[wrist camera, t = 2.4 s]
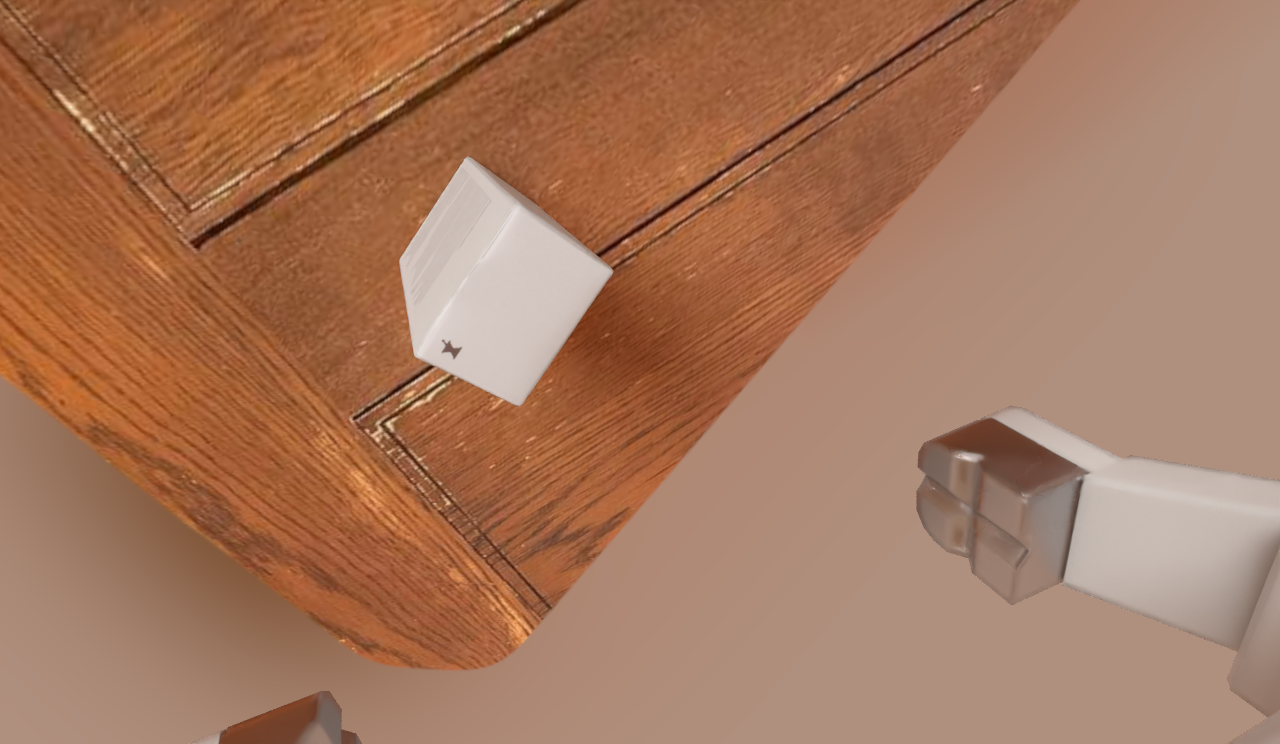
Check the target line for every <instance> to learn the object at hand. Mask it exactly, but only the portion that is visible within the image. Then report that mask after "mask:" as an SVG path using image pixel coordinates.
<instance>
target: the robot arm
mask: <svg viewBox="0 0 1280 744" xmlns="http://www.w3.org/2000/svg"><path fill="white" fill-rule="evenodd" d="M918 468H919V469H920V470H921V471H922V472H923V473H924V474H925V475H926V476H925V478H924V479H923V481H922V483H921V485H920V487H919V488H918V490H917V512H918V514H919V517H920V519H921V521H922V524H923V526H924V528H925V529H926V531H927V532H928V533H929V535H930V536H931V537H932V538H933V540H934V541H935V542H936V543H937V544H939V545H940V546H941V547H942V548H943V549H944V550H946V551H947V552H949V553H953V554H956V555H960V556H963V557H966V558H969V562H970V566H971V570H972V573H973V574H974V575H975V576H977V577H978V578H979V579H980V580H982V581H983V582H984V583H985V584H987V585H988V586H989V587H990V588H991V589H992V590H994V591H995V592H996V593H997V594H999V595H1000V596H1001V597H1002V598H1003V599H1005V600H1006V601H1007V602H1008V603H1009V604H1011V605H1014V604H1016V603H1018V602H1020V601H1022V600H1024V599H1027V598H1029V597H1031V596H1033V595H1035V594H1037V593H1039V592H1042V591H1044V590H1046V589H1048V588H1050V587H1052V586H1054V585H1057V584H1059V583H1061V582H1063V586H1066V587H1068V588H1071V589H1074V590H1076V591H1079V592H1082V593H1084V594H1087V595H1090V596H1092V597H1095V598H1098V599H1100V600H1103V601H1106V602H1108V603H1111V604H1113V605H1116V606H1119V607H1121V608H1124V609H1127V610H1129V611H1132V612H1134V613H1137V614H1140V615H1142V616H1145V617H1148V618H1150V619H1153V620H1156V621H1158V622H1161V623H1163V624H1166V625H1169V626H1171V627H1174V628H1177V629H1179V630H1182V631H1185V632H1188V633H1190V634H1193V635H1195V636H1198V637H1201V638H1203V639H1206V640H1208V641H1211V642H1214V643H1216V644H1219V645H1222V646H1224V647H1227V648H1229V649H1232V650H1235V651H1237V655H1236V657H1235V660H1234V663H1233V665H1232V668H1231V670H1230V673H1229V675H1228V682H1229V686H1230V690H1231V691H1232V692H1234V693H1235V694H1237V695H1238V696H1239V697H1241V698H1242V699H1243V700H1245V701H1246V702H1247V703H1249V704H1250V705H1252V706H1253V707H1254V708H1256V709H1257V710H1258V711H1260V712H1261V713H1262V714H1264V715H1265V716H1267V717H1268V718H1266V719H1265V720H1263V721H1262V722H1260V723H1259V724H1257V725H1255V726H1254V727H1252V728H1251V729H1249V730H1248V731H1246V732H1244V733H1243V734H1241V735H1240V736H1238V737H1237V738H1235V739H1234V740H1232V741H1230V742H1229V743H1227V744H1280V480H1275V479H1269V478H1263V477H1257V476H1251V475H1245V474H1239V473H1233V472H1227V471H1221V470H1215V469H1210V468H1203V467H1198V466H1191V465H1186V464H1179V463H1174V462H1167V461H1161V460H1156V459H1150V458H1143V457H1138V456H1132V455H1130V456H1128V457H1125V458H1123V459H1121V458H1119V457H1117V456H1115V455H1113V454H1111V453H1109V452H1108V451H1106V450H1103V449H1102V448H1100V447H1098V446H1096V445H1094V444H1092V443H1090V442H1088V441H1086V440H1084V439H1082V438H1081V437H1079V436H1077V435H1075V434H1072V433H1071V432H1069V431H1067V430H1065V429H1063V428H1061V427H1059V426H1057V425H1055V424H1053V423H1051V422H1050V421H1048V420H1046V419H1044V418H1042V417H1040V416H1038V415H1036V414H1034V413H1032V412H1030V411H1028V410H1027V409H1024V408H1021V407H1014V406H1009V407H1007V408H1005V409H1002V410H1000V411H997V412H995V413H993V414H991V415H988V416H986V417H984V418H982V419H980V420H977V421H974V422H972V423H969V424H967V425H965V426H962V427H960V428H958V429H955V430H953V431H951V432H949V433H946V434H944V435H941V436H939V437H937V438H934V439H932V440H929V441H927V442H925V443H924V444H923V446H922V447H921V449H920V451H919V455H918ZM341 710H342V709H341V708H340V706H339V705H338V703H337V702H336V700H335V699H334V697H333V696H332V694H331V693H330V692H329V691H321V692H318V693H316V694H313V695H311V696H308V697H305V698H302V699H300V700H297V701H295V702H292V703H290V704H287V705H284V706H282V707H279V708H277V709H274V710H271V711H269V712H266V713H264V714H261V715H258V716H256V717H253V718H251V719H248V720H246V721H243V722H240V723H238V724H235V725H233V726H230V727H228V728H227V729H225V730H222V731H220V732H217V733H215V734H212V735H209V736H207V737H204V738H202V739H199V740H196V741H194V742H191V743H188V744H362V743H361V741H360V740H359V738H358V736H357V734H356V733H352V732H349V731H345V730H342V729H341V712H342V711H341Z"/></svg>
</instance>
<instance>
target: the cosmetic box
mask: <svg viewBox="0 0 1280 744" xmlns="http://www.w3.org/2000/svg"><path fill="white" fill-rule="evenodd" d="M399 263H400V270H401V277H402V282H403V288H404V294H405V301H406V307H407V313H408V319H409V326H410V333H411V339H412V346H413V351H414V355H415V357H416V358H418V359H420V360H422V361H424V362H426V363H428V364H431V365H433V366H435V367H437V368H439V369H441V370H443V371H445V372H447V373H450V374H452V375H454V376H456V377H458V378H460V379H462V380H464V381H466V382H468V383H470V384H472V385H475V386H477V387H479V388H481V389H483V390H485V391H487V392H489V393H491V394H493V395H495V396H497V397H499V398H501V399H503V400H505V401H507V402H509V403H512V404H514V405H516V406H521V405H522V404H523V403H524V401H525V400H526V398H527V397H528V395H529V394H530V393H531V391H532V390H533V388H534V387H535V385H536V384H537V383H538V381H539V380H540V378H541V377H542V375H543V374H544V372H545V371H546V370H547V368H548V367H549V365H550V364H551V362H552V361H553V359H554V358H555V357H556V355H557V354H558V352H559V351H560V349H561V348H562V346H563V345H564V343H565V342H566V340H567V339H568V338H569V336H570V335H571V333H572V332H573V330H574V329H575V327H576V326H577V324H578V323H579V321H580V320H581V318H582V317H583V315H584V314H585V312H586V311H587V310H588V308H589V307H590V305H591V304H592V302H593V301H594V300H595V298H596V297H597V295H598V294H599V292H600V291H601V289H602V288H603V287H604V285H605V284H606V282H607V281H608V279H609V278H610V277H611V276H612V274H613V270H612V268H611V267H610V266H609V265H608V264H606V263H605V262H604V261H603V260H602V259H600V258H599V257H598V256H597V255H596V254H594V253H593V252H592V251H591V250H590V249H588V248H587V247H586V246H585V245H584V244H582V243H581V242H580V241H579V240H578V239H576V238H575V237H574V236H573V235H572V234H570V233H569V232H568V231H567V230H566V229H564V228H563V227H562V226H561V225H560V224H559V223H557V222H556V221H555V220H554V219H553V218H552V217H550V216H549V215H548V214H547V213H546V212H545V211H543V210H542V209H541V208H540V207H539V206H537V205H536V204H535V203H533V202H532V201H531V200H529V199H528V198H527V197H525V196H524V195H523V194H521V193H520V192H518V191H517V190H516V189H514V188H513V187H512V186H510V185H509V184H507V183H506V182H505V181H503V180H502V179H500V178H499V177H498V176H496V175H495V174H493V173H492V172H491V171H489V170H488V169H486V168H485V167H484V166H482V165H481V164H479V163H478V162H477V161H475V160H474V159H472V158H471V157H466V158H465V159H464V161H463V163H462V164H461V166H460V167H459V169H458V170H457V172H456V173H455V175H454V176H453V178H452V179H451V181H450V182H449V184H448V185H447V187H446V189H445V190H444V192H443V193H442V195H441V196H440V198H439V199H438V201H437V202H436V204H435V205H434V207H433V209H432V210H431V212H430V213H429V215H428V216H427V218H426V219H425V221H424V222H423V224H422V225H421V227H420V229H419V230H418V232H417V233H416V235H415V236H414V238H413V239H412V241H411V243H410V244H409V246H408V247H407V249H406V250H405V252H404V253H403V255H402V256H401V258H400V260H399Z"/></svg>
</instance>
